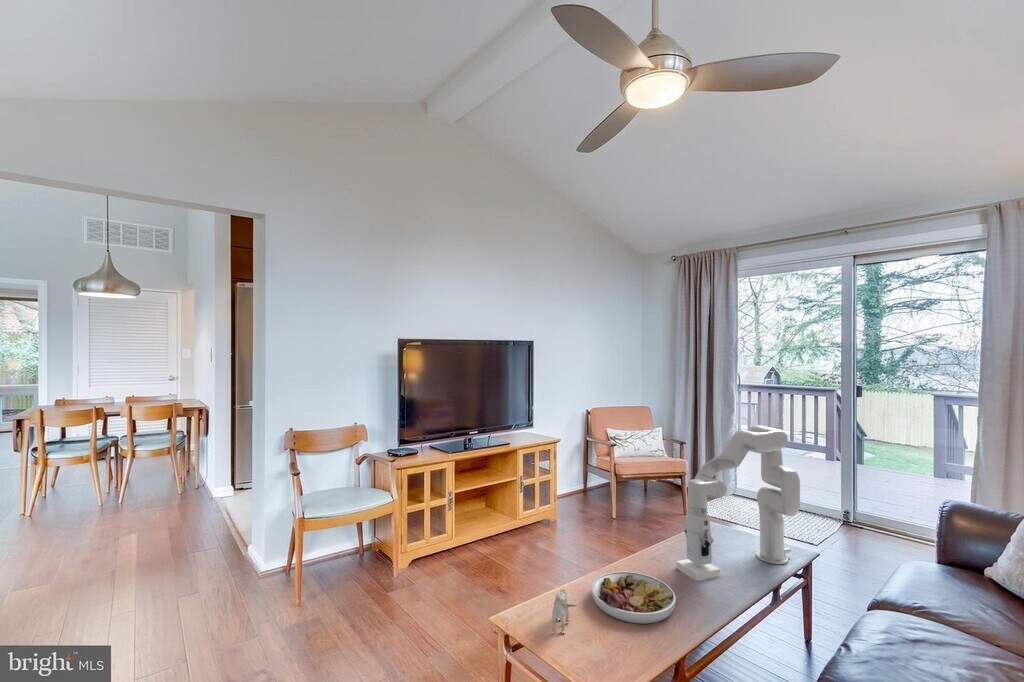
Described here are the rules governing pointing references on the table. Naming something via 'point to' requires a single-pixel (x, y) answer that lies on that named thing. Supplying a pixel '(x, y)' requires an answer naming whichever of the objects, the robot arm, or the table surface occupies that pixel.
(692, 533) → the supplement box
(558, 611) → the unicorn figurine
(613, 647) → the table surface
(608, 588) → the bowl
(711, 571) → the plinth
